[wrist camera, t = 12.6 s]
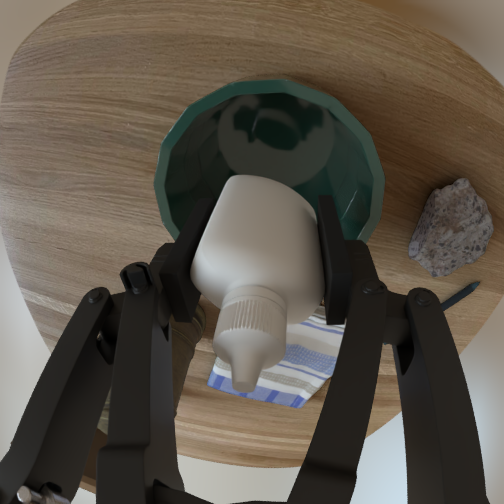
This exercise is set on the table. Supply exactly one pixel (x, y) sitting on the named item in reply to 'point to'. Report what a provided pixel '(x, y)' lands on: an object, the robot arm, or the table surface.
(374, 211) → the pot
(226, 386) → the dish towel
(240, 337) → the eye dropper bottle
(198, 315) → the container
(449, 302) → the pen
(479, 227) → the rock
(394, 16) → the table surface
